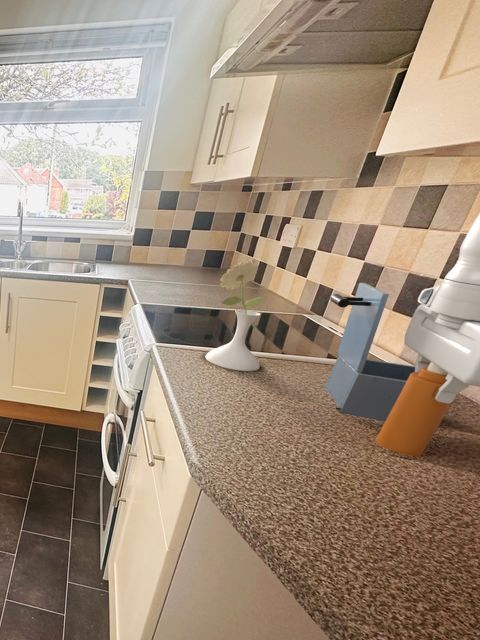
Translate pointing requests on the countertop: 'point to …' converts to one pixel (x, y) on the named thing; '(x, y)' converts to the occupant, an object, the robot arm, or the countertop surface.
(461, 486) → the countertop surface
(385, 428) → the bottle
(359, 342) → the lid
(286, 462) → the countertop surface
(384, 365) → the box
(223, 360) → the flower in vase
